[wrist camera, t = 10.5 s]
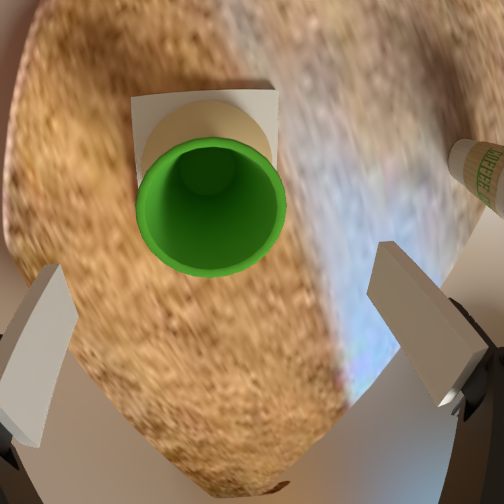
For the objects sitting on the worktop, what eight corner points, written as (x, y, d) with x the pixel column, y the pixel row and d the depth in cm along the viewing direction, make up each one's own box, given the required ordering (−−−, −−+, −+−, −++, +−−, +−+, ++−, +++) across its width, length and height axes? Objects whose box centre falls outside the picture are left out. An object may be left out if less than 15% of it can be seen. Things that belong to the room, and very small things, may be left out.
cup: (202, 230, 31) (205, 301, 22) (137, 163, 27) (104, 209, 17) (276, 173, 29) (314, 222, 20) (214, 97, 25) (223, 104, 15)
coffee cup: (428, 152, 34) (516, 196, 21) (471, 112, 32) (557, 142, 19) (452, 205, 39) (524, 258, 26) (490, 166, 36) (564, 207, 24)
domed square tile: (133, 96, 27) (124, 98, 24) (275, 89, 29) (285, 90, 25) (145, 225, 34) (140, 241, 30) (272, 217, 36) (279, 232, 32)
